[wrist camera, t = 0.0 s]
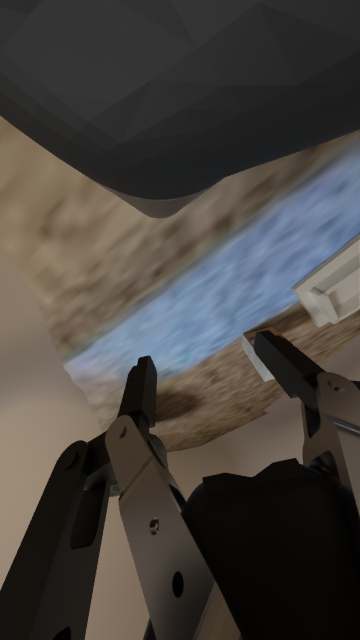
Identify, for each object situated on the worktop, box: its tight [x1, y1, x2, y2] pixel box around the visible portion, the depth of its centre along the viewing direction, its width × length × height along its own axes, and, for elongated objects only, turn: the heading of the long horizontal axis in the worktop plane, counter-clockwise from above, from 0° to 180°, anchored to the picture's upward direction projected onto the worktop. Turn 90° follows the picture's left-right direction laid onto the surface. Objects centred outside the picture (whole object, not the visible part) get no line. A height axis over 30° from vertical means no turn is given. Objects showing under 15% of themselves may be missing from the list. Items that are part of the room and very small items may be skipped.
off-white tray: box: [291, 234, 360, 328], centre depth 27 cm, size 18×18×4 cm
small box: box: [242, 326, 286, 381], centre depth 32 cm, size 8×6×10 cm
